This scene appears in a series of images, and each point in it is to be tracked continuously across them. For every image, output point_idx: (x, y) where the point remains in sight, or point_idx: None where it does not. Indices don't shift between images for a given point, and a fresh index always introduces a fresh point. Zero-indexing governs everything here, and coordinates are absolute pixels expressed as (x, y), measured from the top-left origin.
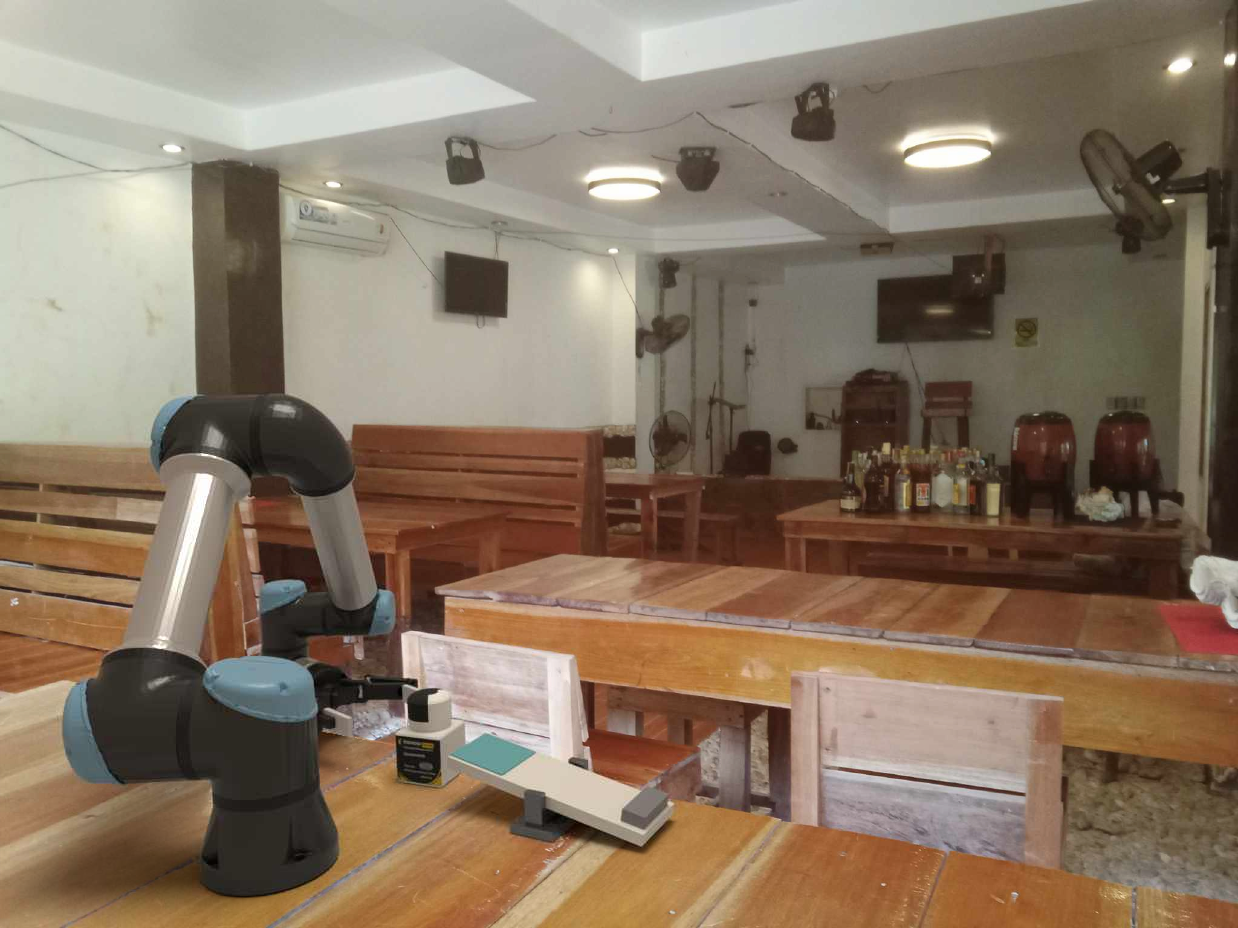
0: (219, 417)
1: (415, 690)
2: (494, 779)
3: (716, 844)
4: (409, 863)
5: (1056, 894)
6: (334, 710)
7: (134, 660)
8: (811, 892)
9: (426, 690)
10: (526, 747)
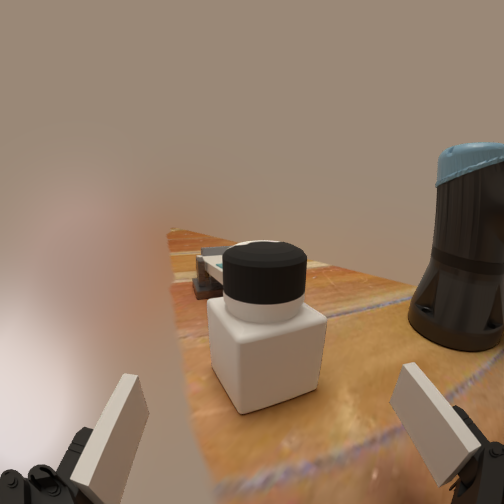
0: None
1: (118, 419)
2: None
3: None
4: (360, 295)
5: (180, 232)
6: (449, 423)
7: None
8: (221, 244)
9: (262, 248)
10: (214, 267)
